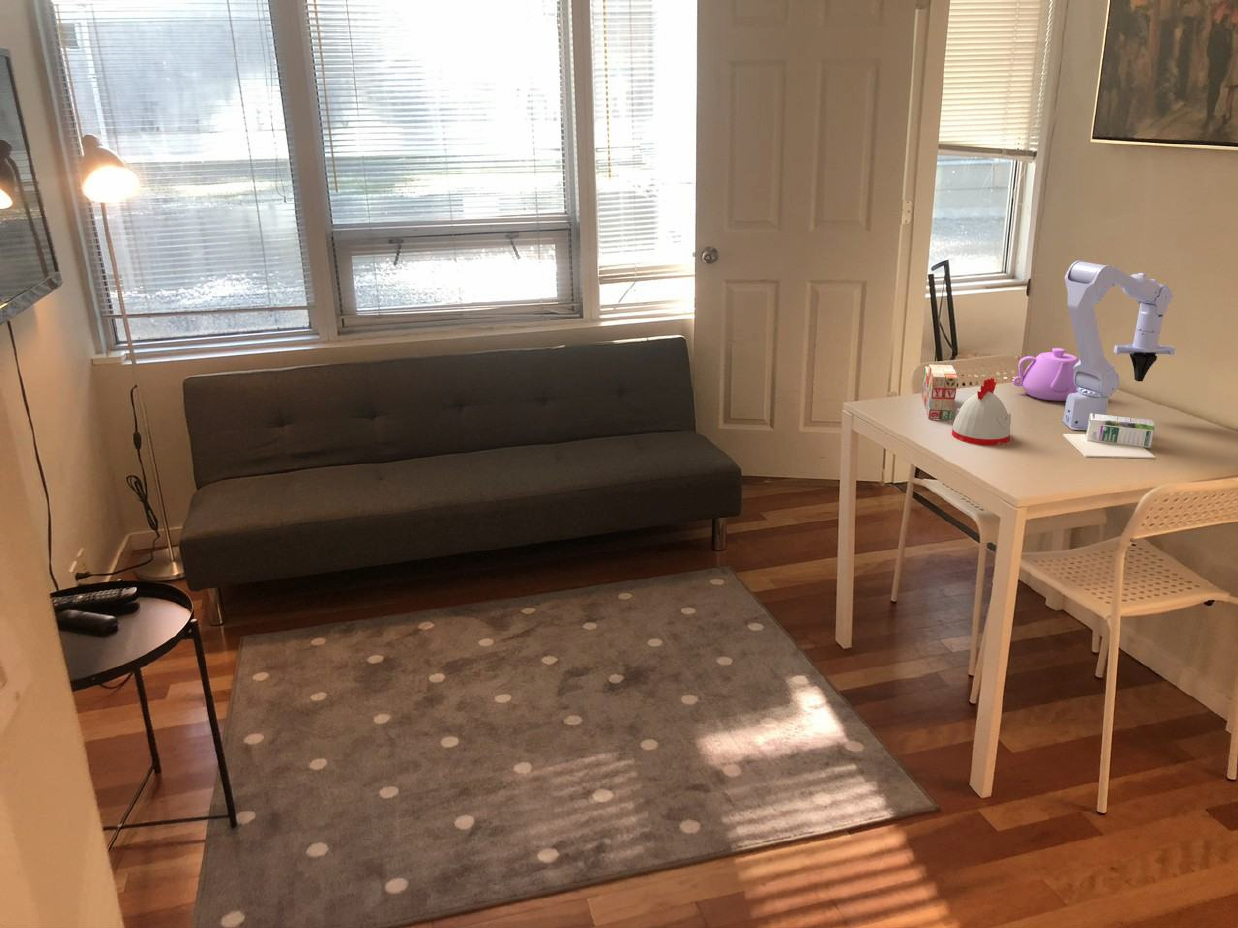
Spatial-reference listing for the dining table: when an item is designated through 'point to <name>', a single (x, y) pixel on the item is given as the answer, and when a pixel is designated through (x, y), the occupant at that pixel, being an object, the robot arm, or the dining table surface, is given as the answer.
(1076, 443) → the mat
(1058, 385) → the teapot
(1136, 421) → the syrup box
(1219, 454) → the dining table surface
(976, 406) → the white chicken dome
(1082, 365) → the robot arm
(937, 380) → the stack of blocks
